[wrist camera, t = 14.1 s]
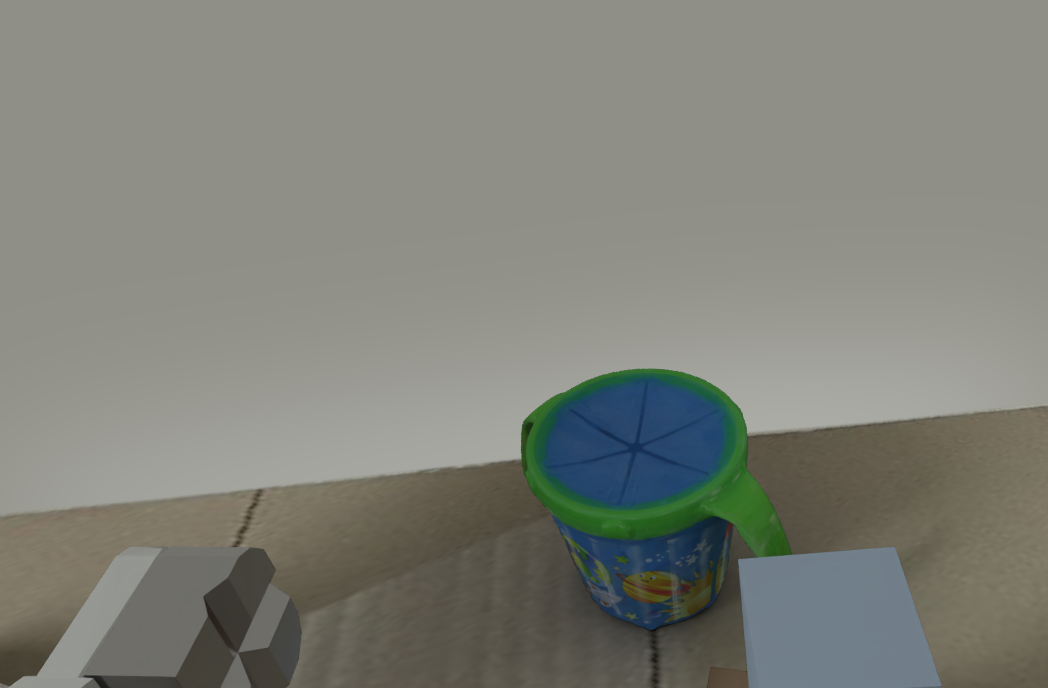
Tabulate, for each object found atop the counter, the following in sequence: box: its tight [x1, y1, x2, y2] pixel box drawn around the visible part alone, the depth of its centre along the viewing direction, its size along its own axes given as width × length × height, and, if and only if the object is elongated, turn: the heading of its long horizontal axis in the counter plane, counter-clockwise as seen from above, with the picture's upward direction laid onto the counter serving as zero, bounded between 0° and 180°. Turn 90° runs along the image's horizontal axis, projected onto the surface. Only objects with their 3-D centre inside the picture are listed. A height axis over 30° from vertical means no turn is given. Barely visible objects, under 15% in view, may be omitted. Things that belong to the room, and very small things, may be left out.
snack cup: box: [521, 369, 792, 630], centre depth 46 cm, size 16×10×10 cm
